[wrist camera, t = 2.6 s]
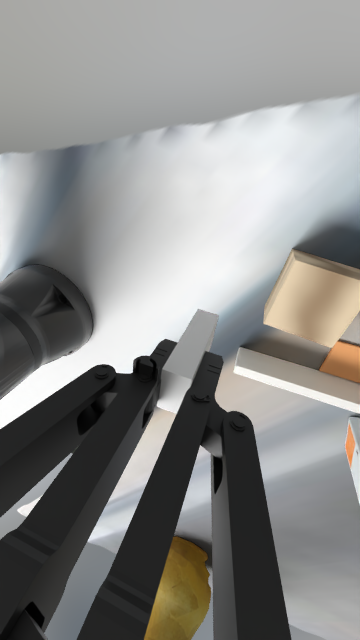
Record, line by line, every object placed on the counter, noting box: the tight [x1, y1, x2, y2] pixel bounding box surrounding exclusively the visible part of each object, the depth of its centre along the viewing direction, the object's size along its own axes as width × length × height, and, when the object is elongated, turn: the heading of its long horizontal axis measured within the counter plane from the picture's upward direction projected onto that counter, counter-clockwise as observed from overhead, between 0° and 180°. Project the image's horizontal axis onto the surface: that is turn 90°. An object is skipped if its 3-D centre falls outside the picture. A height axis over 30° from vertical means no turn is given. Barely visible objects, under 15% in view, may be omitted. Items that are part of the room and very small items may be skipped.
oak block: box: [264, 249, 360, 348], centre depth 25 cm, size 7×7×4 cm
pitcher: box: [144, 537, 211, 640], centre depth 60 cm, size 17×19×25 cm
